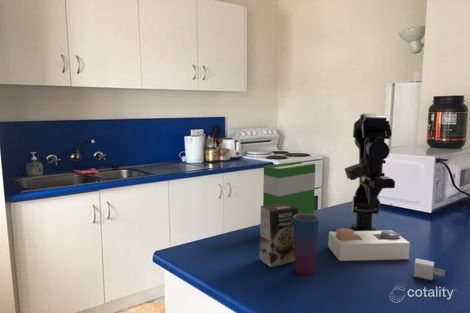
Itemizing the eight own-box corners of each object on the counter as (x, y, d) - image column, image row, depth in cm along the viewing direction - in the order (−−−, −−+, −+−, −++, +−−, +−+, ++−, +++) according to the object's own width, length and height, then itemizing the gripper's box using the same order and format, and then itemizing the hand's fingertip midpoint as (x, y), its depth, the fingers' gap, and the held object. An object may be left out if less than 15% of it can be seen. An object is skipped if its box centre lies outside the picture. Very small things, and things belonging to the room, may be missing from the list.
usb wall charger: (415, 271, 101) (416, 257, 100) (444, 277, 97) (445, 263, 97) (413, 277, 97) (414, 262, 97) (443, 283, 94) (445, 268, 93)
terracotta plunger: (333, 245, 115) (334, 228, 114) (349, 244, 115) (350, 227, 115) (339, 251, 110) (339, 234, 109) (356, 251, 110) (357, 233, 109)
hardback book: (298, 224, 140) (299, 161, 136) (313, 229, 134) (315, 164, 131) (262, 234, 129) (263, 166, 126) (277, 240, 123) (279, 169, 120)
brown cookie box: (270, 267, 103) (271, 211, 100) (258, 259, 108) (259, 205, 106) (297, 261, 107) (299, 207, 105) (284, 253, 113) (285, 201, 110)
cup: (318, 267, 103) (320, 214, 101) (315, 277, 97) (317, 222, 95) (294, 263, 105) (295, 212, 103) (289, 273, 99) (290, 219, 97)
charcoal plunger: (377, 247, 116) (378, 231, 115) (393, 247, 116) (394, 230, 116) (384, 254, 111) (385, 236, 110) (401, 254, 111) (403, 236, 110)
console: (328, 246, 118) (328, 231, 117) (391, 245, 119) (392, 230, 118) (339, 260, 107) (340, 244, 107) (408, 259, 109) (409, 242, 108)
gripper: (338, 152, 126) (336, 197, 128) (360, 160, 108) (357, 212, 110) (370, 152, 127) (368, 196, 129) (397, 160, 108) (394, 212, 110)
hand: (370, 204), depth 120 cm, fingers closed
